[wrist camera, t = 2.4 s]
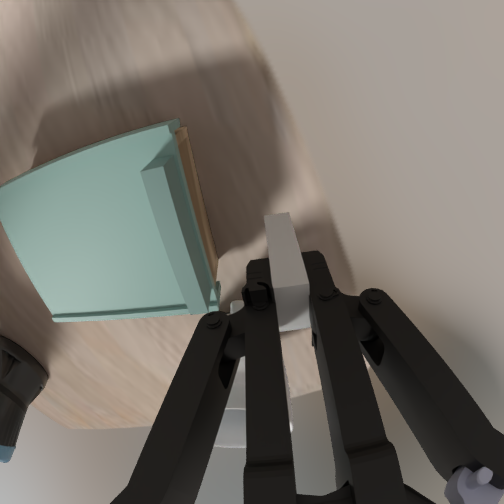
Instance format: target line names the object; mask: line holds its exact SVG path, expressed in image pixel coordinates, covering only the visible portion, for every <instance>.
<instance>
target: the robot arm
mask: <svg viewBox="0 0 504 504" xmlns="http://www.w3.org/2000/svg"><path fill="white" fill-rule="evenodd" d="M264 221H265V229H266V237H267V245H268V253H269V258H264V259H256V260H250V262H249V263H248V265H247V267H246V274H247V275H246V279H247V284H246V285H245V286H244V287H243V288H242V292H241V293H242V297H243V302H244V307H243V308H242V309H240V310H239V311H237V312H235V313H233V314H230V315H227V314H225V313H224V312H220V311H212V312H210V313H207V314H205V315H204V316H203V317H202V318H201V319H200V321H199V323H198V325H197V327H196V329H195V331H194V334H193V336H192V338H191V340H190V342H189V345H188V347H187V349H186V351H185V354H184V356H183V358H182V360H181V362H180V365H179V367H178V369H177V371H176V374H175V376H174V378H173V380H172V383H171V385H170V387H169V389H168V392H167V394H166V396H165V399H164V401H163V403H162V405H161V408H160V410H159V412H158V415H157V417H156V419H155V422H154V424H153V426H152V429H151V431H150V433H149V436H148V438H147V440H146V443H145V445H144V447H143V450H142V452H141V454H140V457H139V459H138V462H137V464H136V466H135V469H134V471H133V473H132V476H131V478H130V481H129V483H128V485H127V487H126V488H125V489H124V490H123V491H122V492H121V493H120V494H119V495H118V496H117V497H116V498H115V499H114V500H113V501H112V502H111V503H110V504H194V503H195V500H196V498H197V495H198V492H199V489H200V486H201V483H202V480H203V476H204V473H205V470H206V467H207V464H208V461H209V458H210V455H211V452H212V449H213V446H214V443H215V440H216V436H217V433H218V430H219V427H220V424H221V421H222V418H223V414H224V411H225V408H226V405H227V401H228V398H229V395H230V392H231V389H232V385H233V382H234V379H235V375H236V372H237V369H238V366H239V362H240V358H241V357H244V356H245V397H246V465H245V467H244V476H243V478H244V479H243V480H244V481H243V484H244V504H436V503H434V502H432V501H431V500H429V499H428V498H426V497H425V496H423V495H422V494H420V493H419V492H417V491H416V490H414V489H413V488H411V487H410V486H408V485H406V484H404V483H403V479H402V475H401V470H400V466H399V461H398V458H397V454H396V450H395V448H394V446H393V444H392V443H391V442H389V441H388V439H387V437H386V434H385V430H384V426H383V422H382V419H381V415H380V411H379V408H378V404H377V401H376V397H375V394H374V390H373V387H372V384H371V380H370V377H369V374H368V371H367V367H366V364H365V361H364V358H363V355H364V357H365V358H366V360H367V361H368V363H369V364H370V366H371V367H372V369H373V370H374V372H375V373H376V375H377V376H378V378H379V380H380V381H381V383H382V384H383V386H384V387H385V389H386V390H387V392H388V393H389V395H390V397H391V398H392V400H393V401H394V403H395V405H396V406H397V408H398V409H399V411H400V413H401V414H402V416H403V417H404V419H405V421H406V422H407V424H408V425H409V427H410V429H411V430H412V432H413V433H414V435H415V437H416V439H417V440H418V442H419V443H420V445H421V447H422V448H423V450H424V452H425V453H426V455H427V457H428V459H429V460H430V462H431V463H432V465H433V466H434V468H435V469H436V471H437V472H438V473H439V474H440V475H441V476H442V477H443V478H444V479H445V480H446V481H447V485H446V488H445V492H444V494H445V497H446V498H447V499H448V500H449V502H450V504H498V502H499V500H500V499H501V497H502V496H503V494H504V435H503V434H502V433H500V432H499V431H497V430H496V429H494V428H493V426H492V425H491V423H490V422H489V420H488V419H487V418H486V416H485V415H484V413H483V412H482V410H481V409H480V408H479V406H478V405H477V404H476V402H475V401H474V400H473V398H472V397H471V395H470V394H469V393H468V391H467V390H466V389H465V387H464V386H463V385H462V383H461V382H460V381H459V379H458V378H457V377H456V376H455V374H454V373H453V372H452V370H451V369H450V368H449V367H448V365H447V364H446V363H445V362H444V360H443V359H442V358H441V356H440V355H439V354H438V353H437V352H436V350H435V349H434V348H433V347H432V345H431V344H430V343H429V342H428V341H427V339H426V338H425V337H424V336H423V335H422V334H421V332H420V331H419V330H418V329H417V328H416V326H415V325H414V324H413V323H412V322H411V321H410V320H409V318H408V317H407V316H406V315H405V314H404V313H403V311H402V310H401V309H400V308H399V307H398V306H397V305H396V304H395V303H394V301H393V300H392V299H391V298H390V297H389V296H388V295H387V294H386V293H385V292H384V291H383V290H380V289H376V288H370V289H366V290H364V291H363V292H362V293H361V294H360V296H350V295H345V294H343V293H341V292H340V291H339V289H338V288H336V287H335V285H334V282H333V280H332V277H331V274H330V272H329V269H328V266H327V264H326V261H325V258H324V256H323V255H322V254H321V253H320V252H319V251H310V252H302V253H301V252H300V248H299V245H298V241H297V238H296V234H295V231H294V227H293V224H292V221H291V217H290V214H289V212H287V213H279V214H272V215H265V216H264ZM310 323H311V328H312V346H314V349H315V354H316V359H317V364H318V369H319V375H320V380H321V385H322V390H323V395H324V401H325V406H326V412H327V418H328V424H329V430H330V436H331V442H332V448H333V455H334V461H335V469H336V476H335V477H336V487H337V491H334V492H332V493H329V494H327V495H324V496H314V495H302V494H297V493H296V482H295V472H294V461H293V451H292V441H291V431H290V421H289V411H288V402H287V393H286V384H285V375H284V366H283V357H282V348H281V340H280V332H282V331H290V330H297V329H304V328H310ZM362 354H363V355H362ZM47 380H48V377H47V374H46V372H45V371H44V369H43V368H42V366H41V365H40V364H39V363H38V362H37V361H36V360H35V359H34V358H33V357H32V356H31V355H30V354H29V353H27V352H26V351H25V350H24V349H22V348H21V347H20V346H18V345H17V344H15V343H14V342H12V341H10V340H8V339H7V338H4V337H2V336H0V462H3V463H6V462H9V461H10V459H11V457H12V454H13V452H14V449H15V448H16V446H15V445H16V442H17V439H18V435H19V432H20V429H21V426H22V423H23V420H24V417H25V414H26V411H27V408H28V406H29V405H30V404H31V402H32V401H33V400H34V399H35V398H36V397H37V396H38V395H39V394H40V392H41V391H42V390H43V389H44V388H45V385H46V383H47Z"/></svg>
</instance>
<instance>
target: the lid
mask: <svg viewBox="0 0 504 504" xmlns="http://www.w3.org/2000/svg"><path fill="white" fill-rule="evenodd" d="M179 127H180V121H179V118H177V119H173V120H169V121H165V122H161V123H157V124H154V125H150V126H146V127H143V128H139V129H136V130H133V131H129V132H126V133H123V134H120V135H117V136H114V137H111V138H108V139H105V140H102V141H99V142H96V143H94V144H91V145H88V146H85V147H83V148H80V149H78V150H75V151H72V152H70V153H67V154H65V155H63V156H60V157H58V158H55V159H53V160H51V161H49V162H46V163H44V164H42V165H40V166H37V167H35V168H33V169H31V170H29V171H27V172H25V173H23V174H21V175H19V176H17V177H15V178H13V179H11V180H9V181H7V182H6V183H4V184H3V185H1V186H0V221H1V223H2V225H3V227H4V229H5V232H6V234H7V236H8V238H9V240H10V242H11V244H12V246H13V248H14V250H15V252H16V254H17V256H18V258H19V260H20V262H21V264H22V265H23V267H24V269H25V271H26V273H27V274H28V276H29V278H30V280H31V281H32V283H33V285H34V286H35V288H36V290H37V291H38V293H39V295H40V296H41V298H42V299H43V301H44V303H45V304H46V306H47V307H48V309H49V310H50V312H51V313H52V315H53V317H52V319H53V321H54V322H77V321H100V320H118V319H133V318H147V317H160V316H171V315H182V314H190V315H193V314H203V313H208V312H212V311H219V303H220V291H221V285H220V281H216V286H215V284H214V280H213V277H212V274H211V270H210V267H209V263H208V260H207V256H206V253H205V249H204V246H203V242H202V238H201V235H200V231H199V227H198V224H197V220H196V216H195V212H194V209H193V205H192V201H191V197H190V193H189V189H188V185H187V181H186V177H185V173H184V169H183V165H182V161H181V157H180V153H179V149H178V144H177V140H176V136H175V130H176V129H177V128H179Z"/></svg>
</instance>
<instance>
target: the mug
mask: <svg viewBox="0 0 504 504" xmlns="http://www.w3.org/2000/svg"><path fill="white" fill-rule="evenodd" d="M243 307H244V302H243V300H235V301H232V302H231V309H230V313H229V314H227V315H230V314H233V313H235V312H237V311H239V310H240V309H242V308H243ZM283 366H284V375H285V384H286V393H287V402H288V411H289V421H290V431H292V430H293V426H294V425H293V415H292V403H291V398H290V388H289V384H288V377H287V374H286V368H285V365H284V361H283ZM214 446H218V447H226V448H246V397H245V356H244V357H241V358H240V362H239V366H238V369H237V372H236V375H235V379H234V382H233V385H232V389H231V392H230V395H229V398H228V401H227V405H226V408H225V411H224V414H223V418H222V421H221V424H220V427H219V430H218V433H217V436H216V440H215V443H214Z"/></svg>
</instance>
